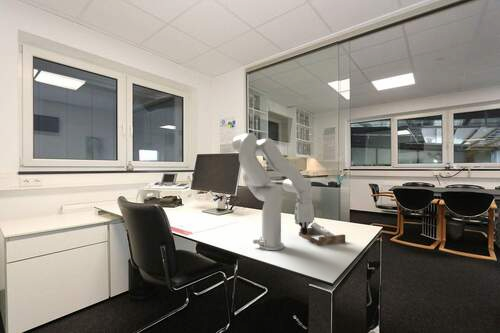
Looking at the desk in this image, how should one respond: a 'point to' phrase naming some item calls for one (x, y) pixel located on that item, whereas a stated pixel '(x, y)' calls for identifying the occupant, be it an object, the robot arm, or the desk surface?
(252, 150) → the robot arm
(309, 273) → the desk surface
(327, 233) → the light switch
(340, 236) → the walnut open frame
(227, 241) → the desk surface
